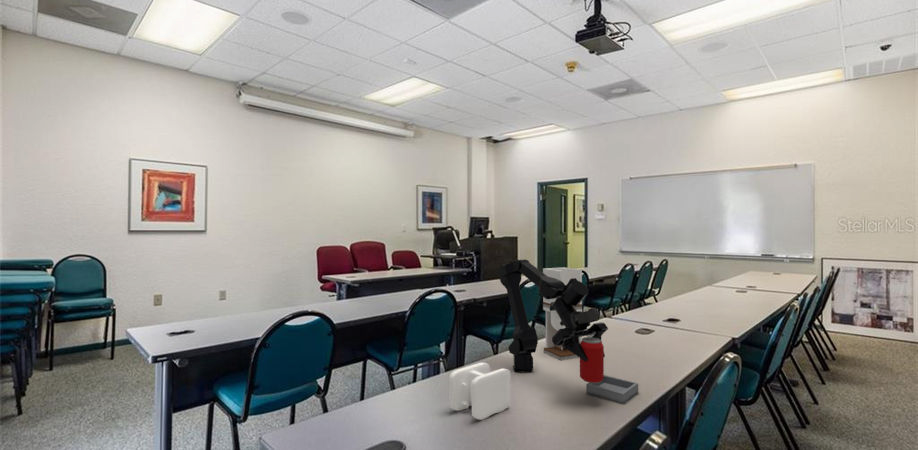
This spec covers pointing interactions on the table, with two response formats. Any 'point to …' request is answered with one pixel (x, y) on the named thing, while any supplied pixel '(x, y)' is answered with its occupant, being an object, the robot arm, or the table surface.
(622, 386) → the coaster tray
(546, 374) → the table surface
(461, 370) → the cable organizer
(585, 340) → the beverage can
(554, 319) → the display case
